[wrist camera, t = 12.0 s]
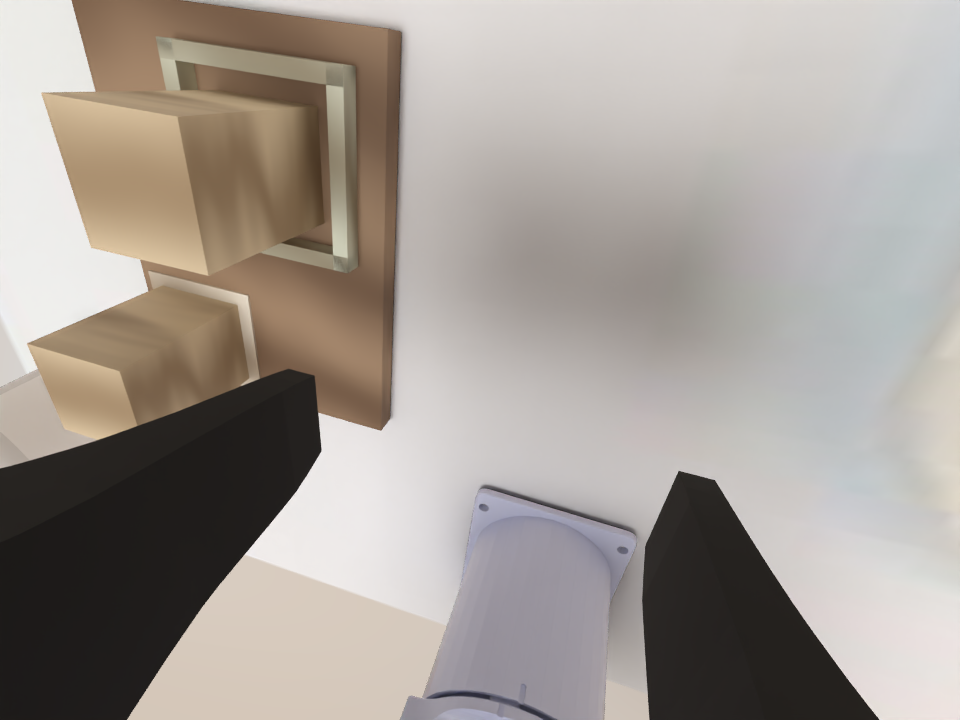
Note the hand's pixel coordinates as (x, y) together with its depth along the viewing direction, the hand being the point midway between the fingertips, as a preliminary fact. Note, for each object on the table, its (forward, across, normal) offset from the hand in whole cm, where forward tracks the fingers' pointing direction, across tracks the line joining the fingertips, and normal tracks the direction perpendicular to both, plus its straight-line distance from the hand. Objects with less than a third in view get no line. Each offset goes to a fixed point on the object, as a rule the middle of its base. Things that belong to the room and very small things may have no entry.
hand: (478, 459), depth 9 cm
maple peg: (+9, +11, -3) cm, 15 cm away
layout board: (+10, +12, +1) cm, 16 cm away
